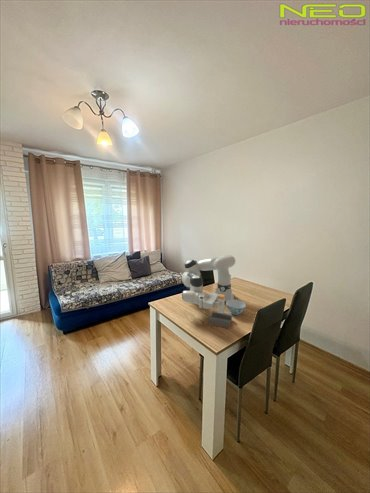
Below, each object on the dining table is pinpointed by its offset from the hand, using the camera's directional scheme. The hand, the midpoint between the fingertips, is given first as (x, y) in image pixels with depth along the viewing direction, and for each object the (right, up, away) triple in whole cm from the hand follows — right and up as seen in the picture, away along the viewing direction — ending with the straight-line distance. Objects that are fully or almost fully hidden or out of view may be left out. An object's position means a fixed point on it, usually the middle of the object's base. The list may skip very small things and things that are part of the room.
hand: (222, 302), depth 139 cm
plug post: (-1, -7, +1) cm, 7 cm away
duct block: (-1, -15, +3) cm, 15 cm away
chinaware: (+13, -13, +16) cm, 25 cm away
